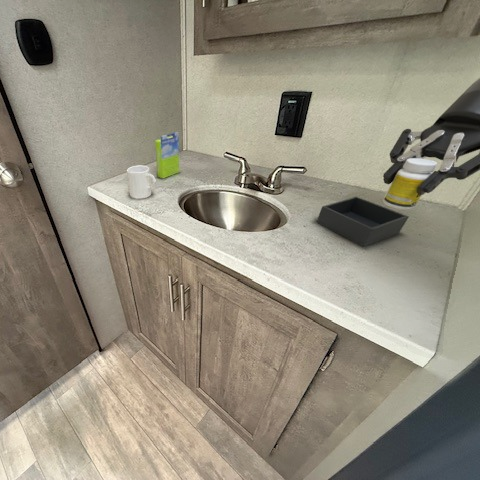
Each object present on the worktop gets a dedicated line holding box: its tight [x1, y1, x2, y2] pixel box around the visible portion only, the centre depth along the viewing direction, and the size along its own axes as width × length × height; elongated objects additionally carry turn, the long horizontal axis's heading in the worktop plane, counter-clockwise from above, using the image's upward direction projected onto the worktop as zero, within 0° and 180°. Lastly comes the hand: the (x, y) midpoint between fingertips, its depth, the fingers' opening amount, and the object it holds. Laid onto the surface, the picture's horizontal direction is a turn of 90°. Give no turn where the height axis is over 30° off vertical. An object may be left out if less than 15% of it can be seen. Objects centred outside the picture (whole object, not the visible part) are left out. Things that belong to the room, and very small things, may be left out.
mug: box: [126, 164, 157, 200], centre depth 88 cm, size 8×12×10 cm
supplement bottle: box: [382, 158, 438, 210], centre depth 45 cm, size 5×5×8 cm
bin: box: [316, 196, 410, 248], centre depth 65 cm, size 13×13×5 cm
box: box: [154, 131, 180, 179], centre depth 103 cm, size 10×4×17 cm, turn 132°
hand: (402, 186), depth 44 cm, fingers closed on supplement bottle, 4 cm apart
